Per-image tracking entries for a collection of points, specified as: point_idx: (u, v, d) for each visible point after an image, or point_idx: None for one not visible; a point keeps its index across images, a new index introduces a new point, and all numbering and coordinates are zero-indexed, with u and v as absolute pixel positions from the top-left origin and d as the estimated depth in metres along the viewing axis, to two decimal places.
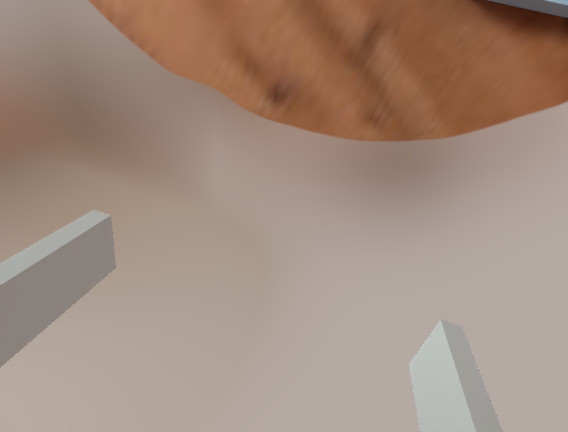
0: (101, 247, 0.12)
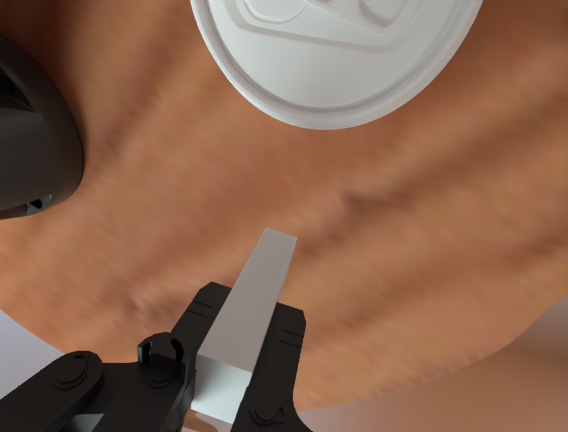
0: None
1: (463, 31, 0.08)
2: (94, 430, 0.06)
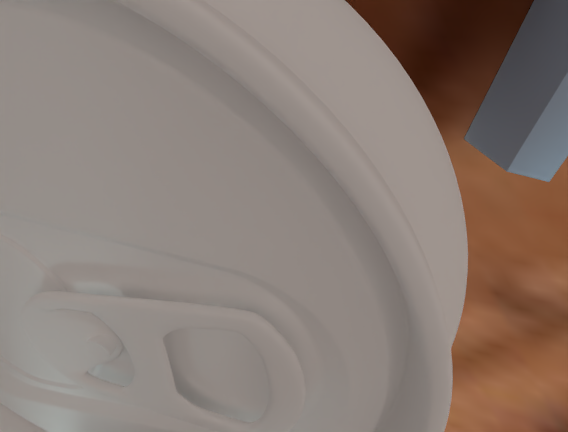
0: None
1: None
2: None
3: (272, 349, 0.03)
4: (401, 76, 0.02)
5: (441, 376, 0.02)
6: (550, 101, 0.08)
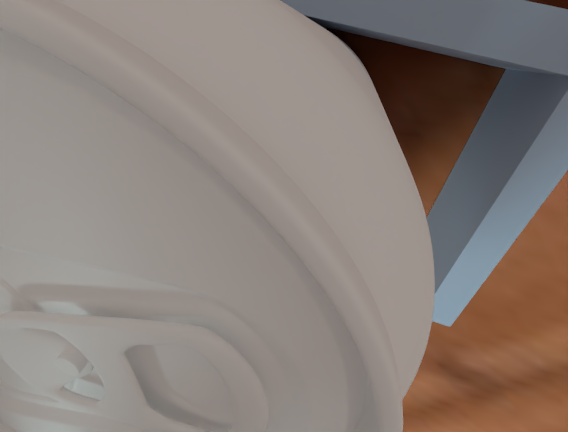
0: None
1: (406, 389, 0.03)
2: None
3: (226, 363, 0.03)
4: (338, 78, 0.02)
5: (387, 390, 0.02)
6: (443, 281, 0.11)
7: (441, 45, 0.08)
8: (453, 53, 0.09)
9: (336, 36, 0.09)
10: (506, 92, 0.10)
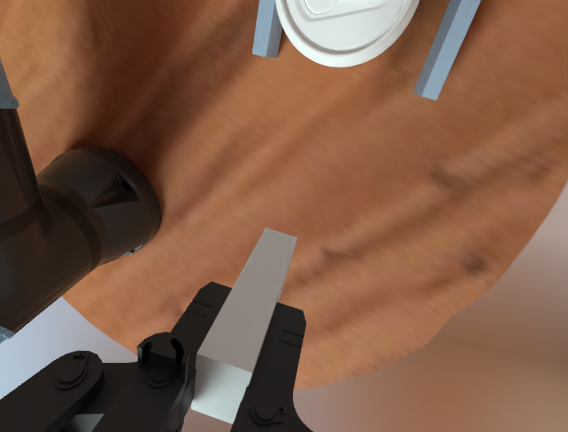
0: None
1: None
2: (94, 430, 0.06)
3: None
4: None
5: None
6: (432, 69, 0.23)
7: None
8: None
9: None
10: None
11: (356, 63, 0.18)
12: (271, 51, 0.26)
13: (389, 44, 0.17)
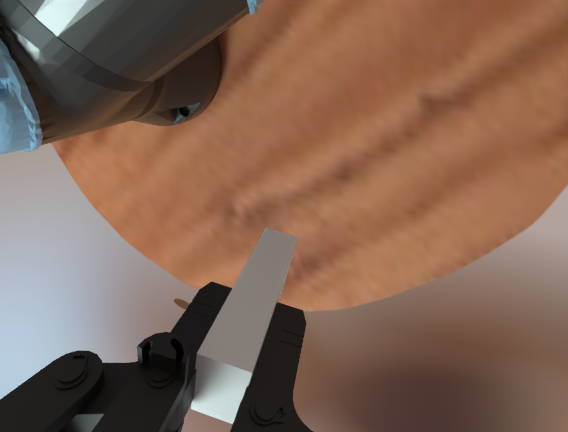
0: None
1: None
2: (94, 430, 0.06)
3: None
4: None
5: None
6: None
7: None
8: None
9: None
10: None
11: None
12: None
13: None
